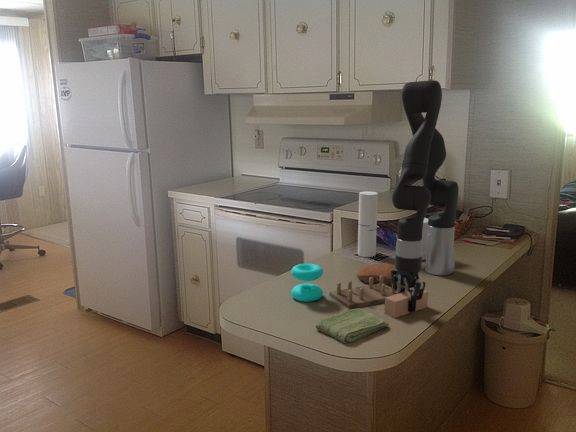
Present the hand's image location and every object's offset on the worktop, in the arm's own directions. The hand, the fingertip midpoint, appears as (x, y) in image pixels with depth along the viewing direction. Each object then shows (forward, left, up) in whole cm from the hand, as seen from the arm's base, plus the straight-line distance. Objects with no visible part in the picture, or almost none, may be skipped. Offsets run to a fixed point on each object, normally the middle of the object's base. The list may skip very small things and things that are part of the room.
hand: (406, 308), depth 162 cm
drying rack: (+5, -14, -1) cm, 15 cm away
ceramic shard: (-9, -28, -1) cm, 29 cm away
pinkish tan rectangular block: (0, 0, -1) cm, 1 cm away
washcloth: (+21, +4, -1) cm, 22 cm away
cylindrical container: (-20, -53, -1) cm, 57 cm away
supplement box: (-37, -42, -1) cm, 56 cm away
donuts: (+22, -22, -1) cm, 31 cm away
